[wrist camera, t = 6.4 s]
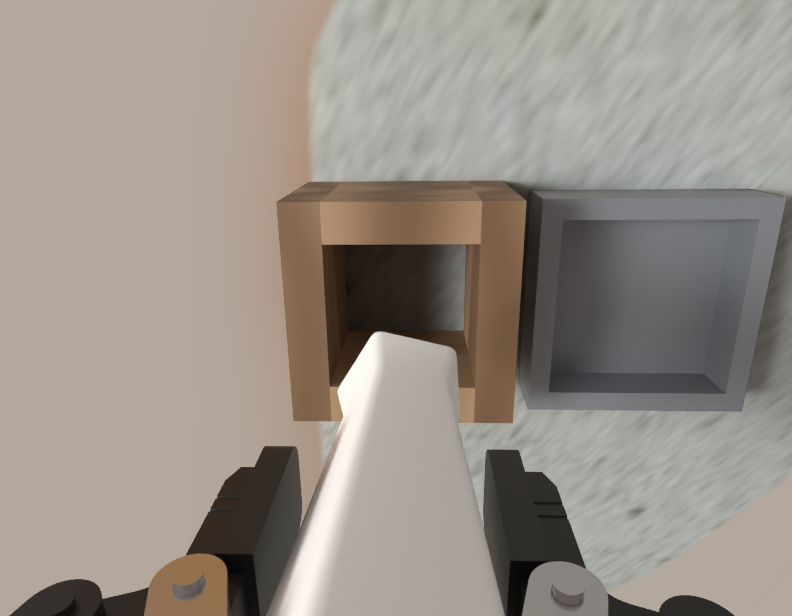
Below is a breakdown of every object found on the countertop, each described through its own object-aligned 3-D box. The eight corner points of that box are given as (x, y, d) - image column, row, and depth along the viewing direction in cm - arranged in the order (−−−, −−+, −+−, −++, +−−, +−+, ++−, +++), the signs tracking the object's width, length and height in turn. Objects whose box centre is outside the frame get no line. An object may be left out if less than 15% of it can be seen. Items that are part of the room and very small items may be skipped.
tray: (750, 189, 29) (786, 197, 26) (713, 385, 32) (741, 411, 30) (531, 190, 29) (543, 198, 26) (518, 383, 33) (528, 409, 30)
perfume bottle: (316, 438, 18) (-52, 1591, 4) (342, 312, 17) (-86, 1412, 3) (455, 468, 18) (573, 1678, 4) (493, 347, 17) (867, 1561, 3)
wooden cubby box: (502, 180, 29) (526, 200, 23) (493, 359, 32) (512, 423, 26) (308, 182, 30) (276, 202, 23) (319, 358, 33) (293, 420, 26)
